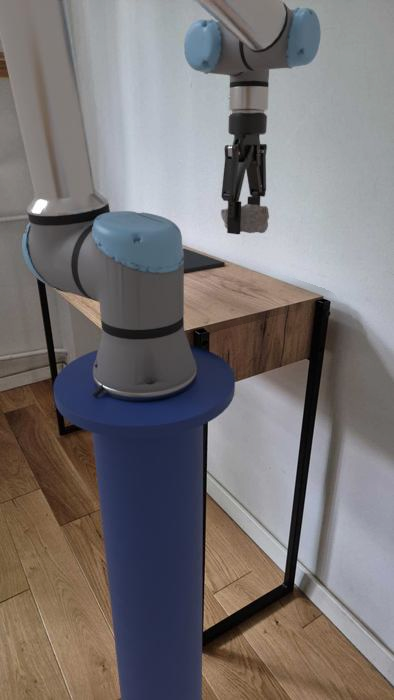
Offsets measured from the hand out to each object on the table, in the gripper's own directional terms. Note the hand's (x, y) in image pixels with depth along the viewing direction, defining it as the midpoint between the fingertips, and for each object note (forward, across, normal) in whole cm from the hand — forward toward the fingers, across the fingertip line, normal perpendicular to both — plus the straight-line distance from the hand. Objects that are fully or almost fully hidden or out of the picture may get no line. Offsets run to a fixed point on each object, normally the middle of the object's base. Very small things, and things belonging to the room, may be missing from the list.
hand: (243, 230), depth 104 cm
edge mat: (+13, -12, -25) cm, 31 cm away
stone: (+1, 0, 0) cm, 1 cm away
